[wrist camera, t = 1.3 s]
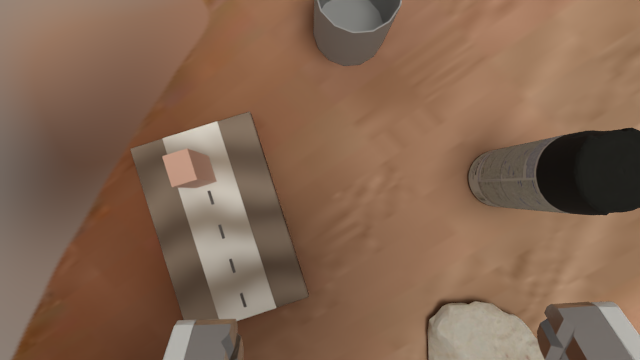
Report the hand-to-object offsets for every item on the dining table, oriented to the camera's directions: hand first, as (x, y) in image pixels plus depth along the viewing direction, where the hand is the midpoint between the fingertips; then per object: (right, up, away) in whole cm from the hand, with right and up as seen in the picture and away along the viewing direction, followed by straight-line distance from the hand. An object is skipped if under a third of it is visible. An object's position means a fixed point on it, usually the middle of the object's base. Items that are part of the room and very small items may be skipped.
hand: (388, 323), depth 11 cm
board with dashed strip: (-13, -1, +36) cm, 39 cm away
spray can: (+19, +4, +38) cm, 42 cm away
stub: (-15, +5, +35) cm, 38 cm away
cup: (+2, +22, +38) cm, 43 cm away
